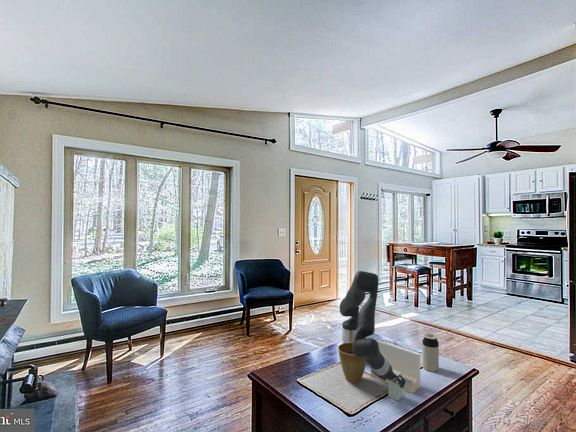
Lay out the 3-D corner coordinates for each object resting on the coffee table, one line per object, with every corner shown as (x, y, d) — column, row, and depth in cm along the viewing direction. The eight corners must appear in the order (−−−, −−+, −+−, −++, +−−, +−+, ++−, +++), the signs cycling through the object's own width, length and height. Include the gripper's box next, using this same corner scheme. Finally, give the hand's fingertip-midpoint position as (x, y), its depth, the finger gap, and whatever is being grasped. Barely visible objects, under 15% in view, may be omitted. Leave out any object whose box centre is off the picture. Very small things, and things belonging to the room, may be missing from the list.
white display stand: (412, 393, 146) (412, 359, 145) (370, 376, 162) (370, 345, 161) (420, 386, 152) (420, 353, 152) (379, 369, 168) (379, 340, 168)
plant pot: (368, 373, 164) (368, 343, 164) (367, 389, 149) (367, 356, 149) (339, 370, 168) (339, 340, 168) (336, 384, 153) (336, 352, 153)
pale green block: (397, 400, 141) (397, 376, 140) (388, 396, 144) (388, 372, 144) (402, 396, 144) (402, 372, 144) (393, 392, 147) (393, 369, 147)
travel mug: (421, 369, 168) (421, 336, 168) (424, 363, 174) (424, 331, 174) (437, 373, 163) (437, 339, 163) (439, 367, 170) (439, 334, 170)
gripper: (399, 363, 131) (411, 380, 139) (369, 352, 142) (382, 368, 150) (392, 380, 128) (405, 397, 136) (363, 368, 138) (376, 384, 146)
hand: (393, 382), depth 143 cm, fingers open, 8 cm apart
